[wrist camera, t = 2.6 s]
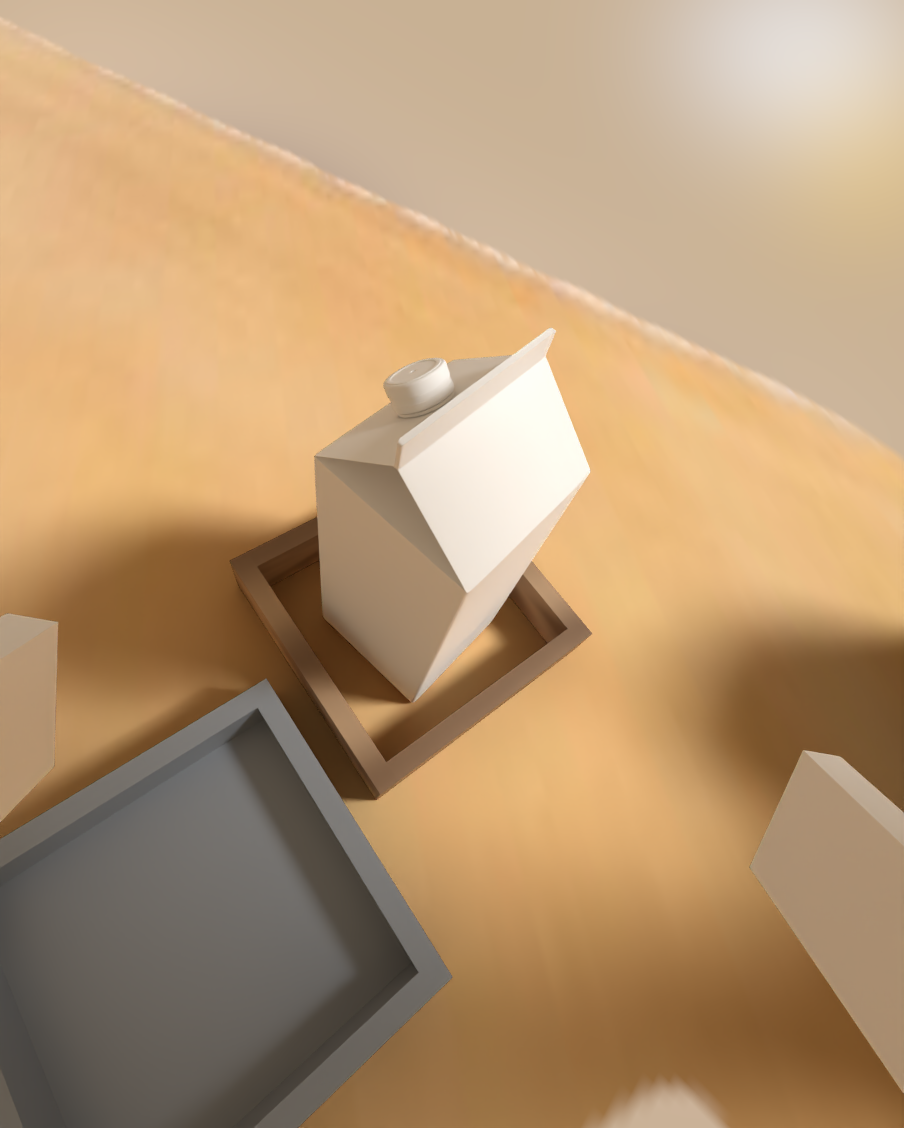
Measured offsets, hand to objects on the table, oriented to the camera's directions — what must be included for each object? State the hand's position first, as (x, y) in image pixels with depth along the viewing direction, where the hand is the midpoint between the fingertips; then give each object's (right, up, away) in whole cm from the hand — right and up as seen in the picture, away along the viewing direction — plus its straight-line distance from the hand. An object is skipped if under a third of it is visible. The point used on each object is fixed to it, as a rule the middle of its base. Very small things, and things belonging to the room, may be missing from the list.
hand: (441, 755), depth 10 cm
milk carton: (-2, 0, +23) cm, 23 cm away
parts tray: (-11, -13, +15) cm, 22 cm away
